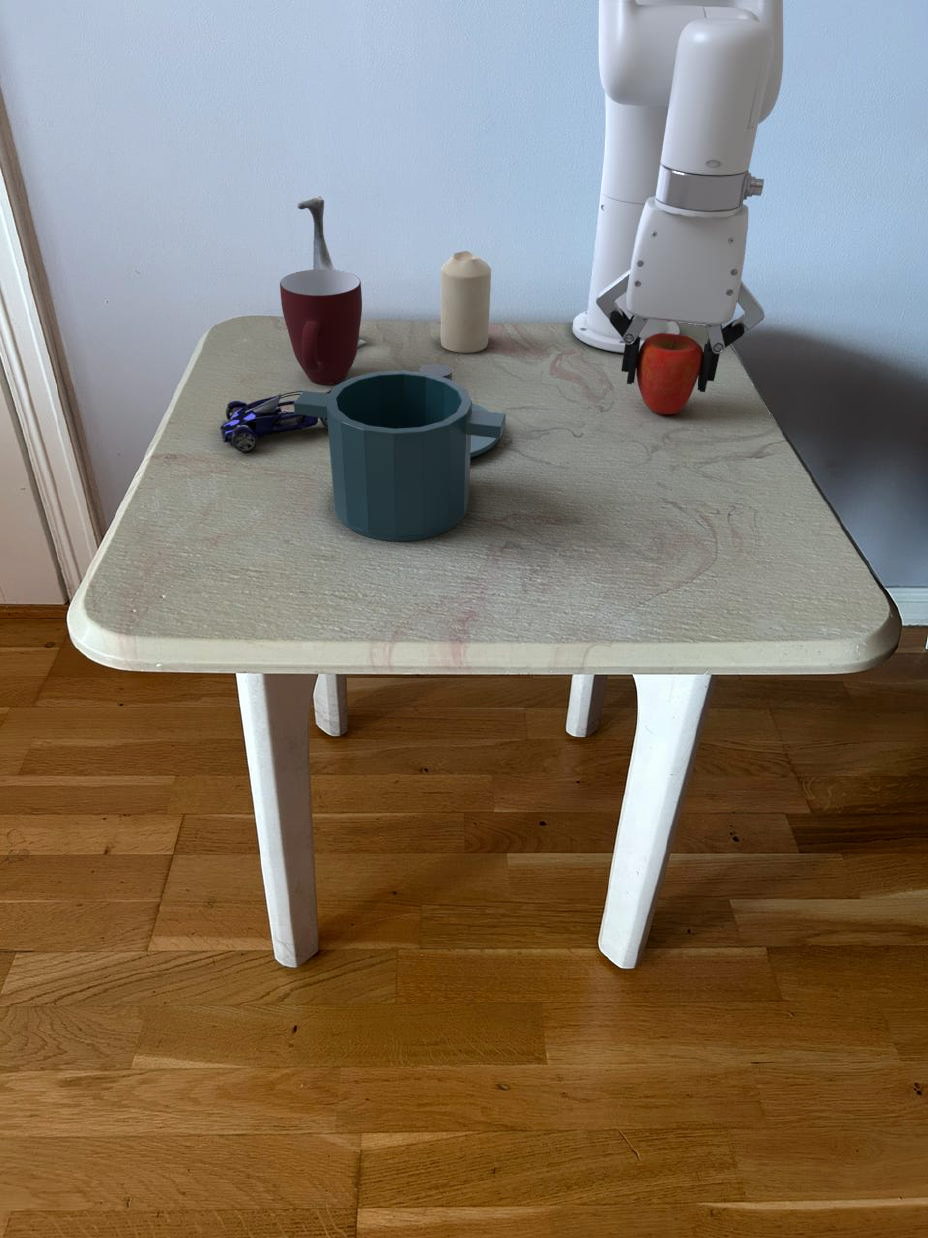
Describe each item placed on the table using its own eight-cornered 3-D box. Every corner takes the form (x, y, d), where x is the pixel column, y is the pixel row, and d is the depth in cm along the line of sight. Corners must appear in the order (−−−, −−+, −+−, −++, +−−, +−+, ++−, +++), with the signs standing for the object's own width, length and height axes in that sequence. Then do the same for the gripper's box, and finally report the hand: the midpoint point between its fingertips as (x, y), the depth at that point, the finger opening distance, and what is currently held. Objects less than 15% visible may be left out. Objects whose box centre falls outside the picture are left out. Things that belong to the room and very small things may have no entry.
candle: (495, 350, 102) (499, 259, 96) (450, 355, 101) (451, 264, 94) (477, 332, 106) (480, 245, 100) (433, 338, 105) (434, 249, 98)
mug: (361, 404, 90) (356, 305, 84) (281, 403, 90) (269, 304, 84) (367, 362, 99) (363, 269, 92) (294, 361, 98) (285, 268, 92)
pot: (328, 461, 81) (320, 360, 75) (508, 484, 79) (515, 381, 73) (284, 526, 72) (271, 418, 67) (485, 554, 70) (490, 444, 64)
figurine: (373, 361, 99) (367, 217, 90) (315, 365, 98) (303, 220, 88) (358, 325, 107) (351, 190, 98) (304, 329, 106) (292, 192, 97)
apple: (617, 406, 91) (628, 335, 87) (655, 390, 95) (667, 320, 90) (666, 429, 88) (680, 356, 83) (704, 411, 91) (719, 340, 86)
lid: (389, 401, 91) (387, 338, 87) (509, 415, 89) (513, 351, 85) (353, 458, 82) (349, 390, 77) (487, 475, 80) (490, 406, 76)
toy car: (225, 455, 81) (218, 416, 79) (218, 424, 86) (212, 386, 84) (354, 440, 84) (352, 401, 82) (341, 411, 89) (339, 373, 87)
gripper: (798, 185, 80) (752, 376, 91) (604, 171, 82) (583, 358, 93) (806, 208, 74) (756, 408, 85) (597, 191, 76) (575, 388, 88)
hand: (666, 380), depth 89 cm, fingers closed on apple, 6 cm apart
